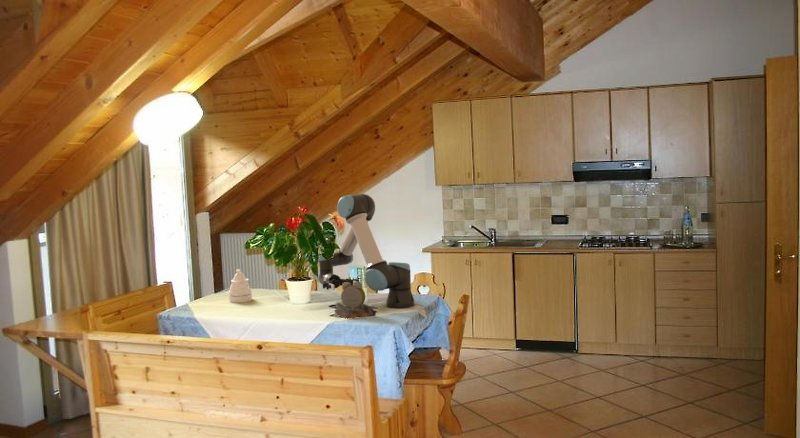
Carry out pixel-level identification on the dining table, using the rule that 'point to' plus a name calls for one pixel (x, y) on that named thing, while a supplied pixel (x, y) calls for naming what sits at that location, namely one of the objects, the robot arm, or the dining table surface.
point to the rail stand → (356, 312)
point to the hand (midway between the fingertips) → (346, 286)
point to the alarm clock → (353, 295)
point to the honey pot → (240, 288)
